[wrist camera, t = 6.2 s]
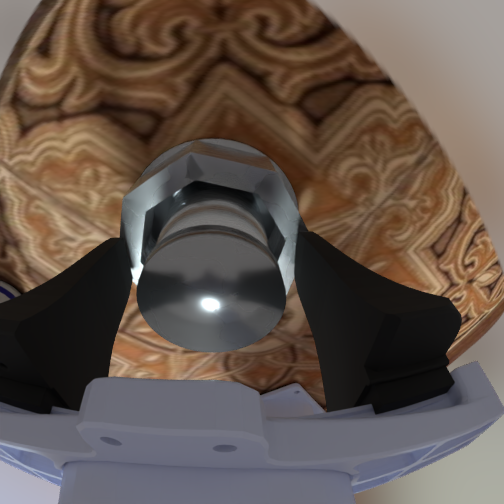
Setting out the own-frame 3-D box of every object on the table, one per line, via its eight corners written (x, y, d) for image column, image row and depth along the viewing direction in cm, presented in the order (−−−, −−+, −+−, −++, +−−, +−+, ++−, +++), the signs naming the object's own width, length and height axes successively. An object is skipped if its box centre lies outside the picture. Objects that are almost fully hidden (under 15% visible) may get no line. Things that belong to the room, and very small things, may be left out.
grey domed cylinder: (267, 174, 13) (296, 239, 8) (259, 261, 16) (276, 351, 11) (163, 172, 13) (125, 237, 8) (169, 260, 15) (149, 350, 10)
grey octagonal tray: (322, 246, 16) (337, 276, 14) (192, 310, 18) (189, 344, 15) (244, 103, 12) (249, 108, 9) (98, 200, 13) (77, 225, 11)
